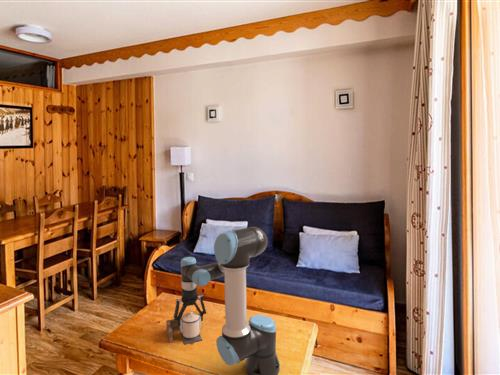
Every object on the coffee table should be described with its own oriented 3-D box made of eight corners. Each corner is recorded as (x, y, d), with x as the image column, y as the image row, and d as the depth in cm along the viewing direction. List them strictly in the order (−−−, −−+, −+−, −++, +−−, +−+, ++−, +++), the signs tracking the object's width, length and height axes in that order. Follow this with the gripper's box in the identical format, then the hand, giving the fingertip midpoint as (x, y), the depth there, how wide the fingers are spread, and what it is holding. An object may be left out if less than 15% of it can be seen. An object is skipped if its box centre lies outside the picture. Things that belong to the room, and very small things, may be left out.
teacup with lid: (203, 331, 169) (203, 310, 167) (193, 340, 161) (192, 318, 159) (184, 325, 174) (184, 305, 173) (173, 334, 166) (173, 312, 165)
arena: (207, 339, 165) (206, 328, 164) (171, 347, 158) (170, 336, 157) (200, 323, 179) (199, 313, 178) (166, 331, 172) (166, 320, 171)
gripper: (208, 281, 172) (209, 320, 175) (166, 288, 164) (168, 329, 167) (212, 286, 165) (212, 328, 168) (168, 294, 157) (170, 337, 160)
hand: (190, 328), depth 168 cm, fingers closed on teacup with lid, 9 cm apart
